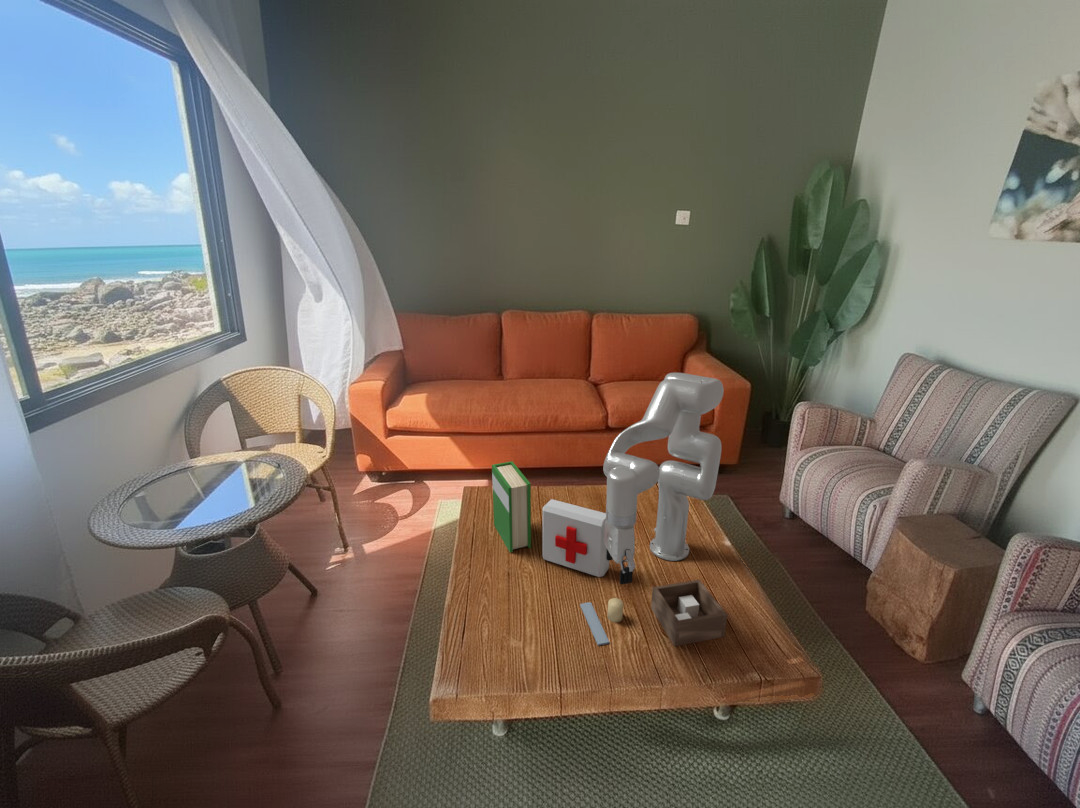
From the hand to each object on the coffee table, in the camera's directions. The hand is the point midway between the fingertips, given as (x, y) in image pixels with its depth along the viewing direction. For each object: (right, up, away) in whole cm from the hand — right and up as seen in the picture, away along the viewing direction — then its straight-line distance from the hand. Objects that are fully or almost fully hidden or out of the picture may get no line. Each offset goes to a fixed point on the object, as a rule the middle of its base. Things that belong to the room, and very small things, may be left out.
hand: (618, 570), depth 135 cm
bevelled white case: (-10, -7, +27) cm, 30 cm away
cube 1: (+20, -13, +6) cm, 25 cm away
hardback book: (-30, -2, +42) cm, 52 cm away
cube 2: (+17, -16, -1) cm, 23 cm away
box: (+18, -16, +3) cm, 24 cm away
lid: (0, -16, +5) cm, 16 cm away
